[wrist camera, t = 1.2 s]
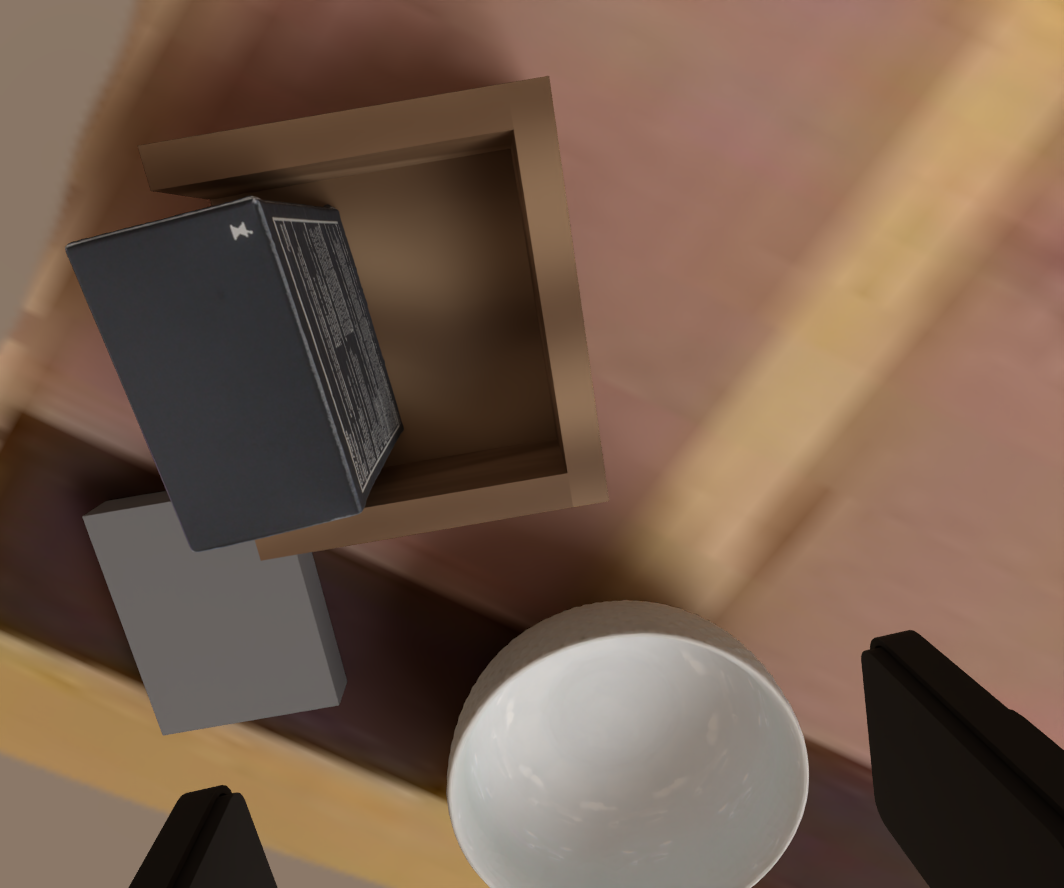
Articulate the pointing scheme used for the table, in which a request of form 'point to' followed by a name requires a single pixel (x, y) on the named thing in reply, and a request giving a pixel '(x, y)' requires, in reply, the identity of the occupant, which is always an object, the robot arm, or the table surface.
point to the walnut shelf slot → (439, 295)
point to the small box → (246, 364)
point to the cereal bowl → (626, 756)
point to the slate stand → (214, 620)
